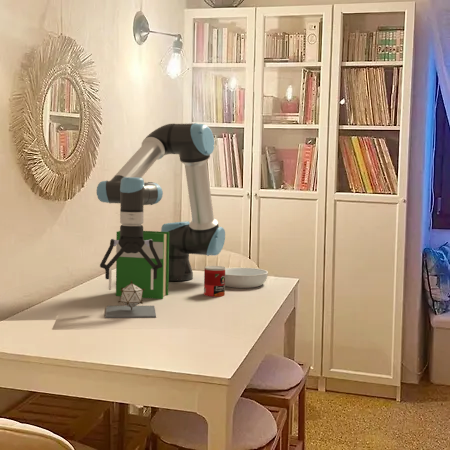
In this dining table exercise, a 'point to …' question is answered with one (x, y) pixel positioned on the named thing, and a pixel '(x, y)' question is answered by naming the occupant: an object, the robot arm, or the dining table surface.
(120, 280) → the hardback book
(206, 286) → the canned food
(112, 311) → the mat
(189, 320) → the dining table surface
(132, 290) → the game die
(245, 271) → the serving bowl
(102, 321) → the dining table surface
